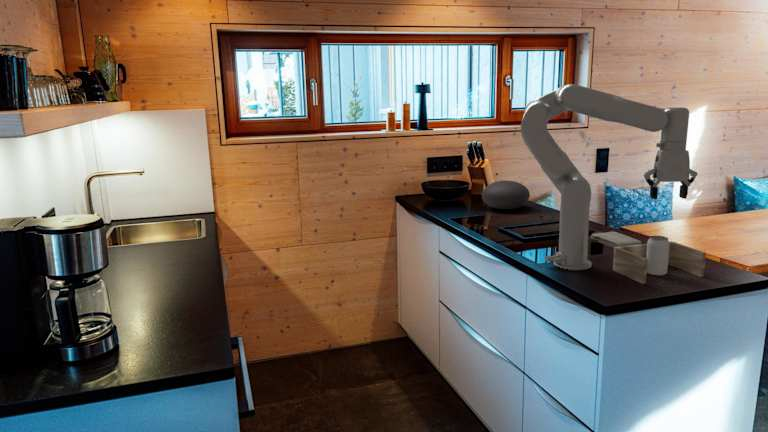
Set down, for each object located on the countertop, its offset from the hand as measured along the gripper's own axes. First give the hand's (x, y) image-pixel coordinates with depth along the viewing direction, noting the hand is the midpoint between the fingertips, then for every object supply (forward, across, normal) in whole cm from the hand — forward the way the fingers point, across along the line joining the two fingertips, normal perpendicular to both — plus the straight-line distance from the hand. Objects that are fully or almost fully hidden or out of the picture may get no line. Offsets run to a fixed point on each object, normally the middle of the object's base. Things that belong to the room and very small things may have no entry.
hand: (668, 198), depth 183 cm
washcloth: (+25, -1, +34) cm, 42 cm away
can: (+24, -5, -5) cm, 25 cm away
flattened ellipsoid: (+25, -28, +106) cm, 113 cm away
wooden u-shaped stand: (+24, -4, -6) cm, 25 cm away
